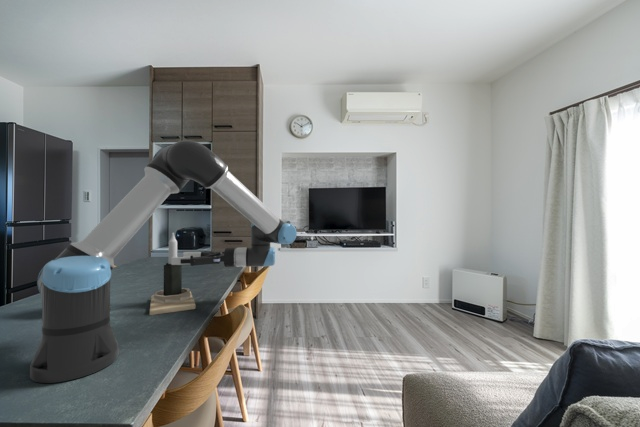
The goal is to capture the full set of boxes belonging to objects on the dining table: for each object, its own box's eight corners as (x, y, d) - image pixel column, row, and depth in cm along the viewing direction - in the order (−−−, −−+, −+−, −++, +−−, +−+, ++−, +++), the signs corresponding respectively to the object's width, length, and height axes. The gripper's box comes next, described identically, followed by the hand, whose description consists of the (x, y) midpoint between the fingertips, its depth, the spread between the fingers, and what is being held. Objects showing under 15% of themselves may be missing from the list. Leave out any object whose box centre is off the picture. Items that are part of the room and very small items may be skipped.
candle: (182, 297, 112) (183, 232, 112) (169, 301, 107) (170, 233, 107) (175, 295, 114) (175, 232, 114) (162, 299, 110) (162, 232, 110)
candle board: (195, 308, 104) (195, 297, 104) (149, 315, 97) (149, 303, 97) (190, 295, 121) (190, 285, 121) (151, 299, 114) (151, 289, 114)
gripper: (230, 273, 102) (165, 274, 99) (239, 261, 127) (187, 262, 124) (230, 251, 102) (166, 252, 99) (239, 244, 127) (187, 244, 124)
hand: (177, 258), depth 111 cm, fingers open, 13 cm apart
